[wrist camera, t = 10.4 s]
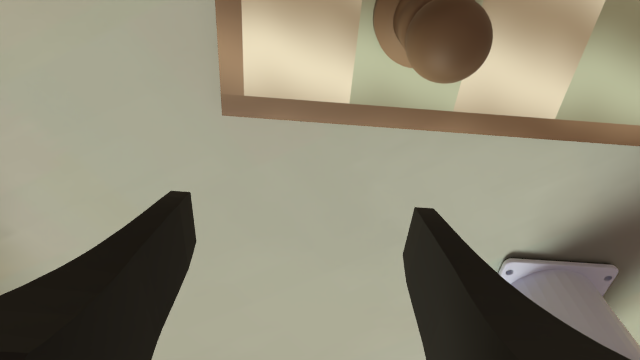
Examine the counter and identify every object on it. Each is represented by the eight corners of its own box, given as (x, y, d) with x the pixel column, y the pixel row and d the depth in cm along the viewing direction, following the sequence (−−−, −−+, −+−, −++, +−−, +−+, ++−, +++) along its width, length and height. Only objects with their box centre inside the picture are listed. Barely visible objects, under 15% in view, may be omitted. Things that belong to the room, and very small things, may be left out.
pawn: (454, 66, 20) (503, 118, 14) (366, 58, 20) (382, 109, 14) (480, -35, 17) (550, -17, 12) (380, -43, 17) (405, -29, 12)
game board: (747, 148, 23) (760, 155, 22) (225, 109, 22) (222, 115, 21) (924, -91, 17) (949, -92, 16) (210, -159, 16) (205, -163, 15)
